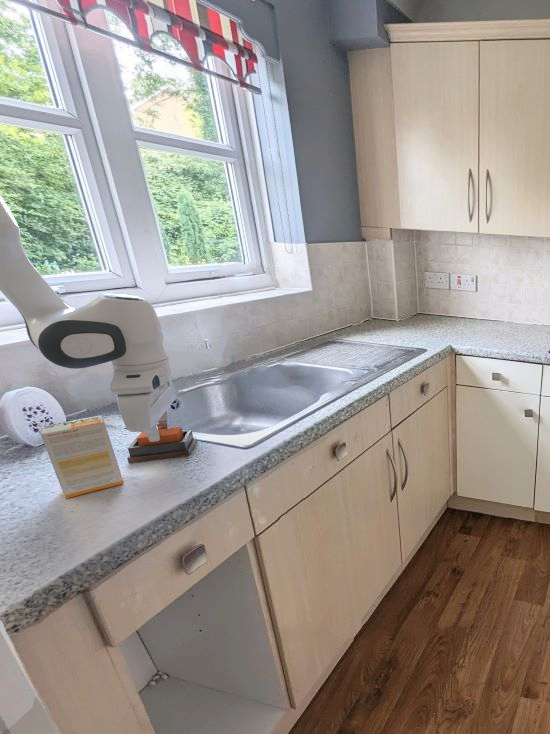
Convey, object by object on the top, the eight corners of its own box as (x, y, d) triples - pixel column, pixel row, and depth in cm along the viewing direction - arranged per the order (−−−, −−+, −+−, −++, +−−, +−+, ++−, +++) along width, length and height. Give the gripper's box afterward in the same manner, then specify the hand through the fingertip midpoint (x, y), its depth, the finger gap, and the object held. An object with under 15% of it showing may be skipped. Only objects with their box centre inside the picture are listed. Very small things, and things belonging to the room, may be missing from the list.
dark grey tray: (128, 463, 94) (124, 449, 93) (140, 448, 101) (136, 434, 99) (189, 455, 98) (186, 442, 97) (197, 441, 105) (194, 428, 104)
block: (140, 453, 96) (136, 438, 95) (146, 445, 99) (142, 430, 98) (180, 448, 99) (177, 433, 98) (185, 440, 102) (181, 426, 101)
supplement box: (121, 474, 90) (103, 413, 85) (124, 484, 87) (105, 421, 82) (63, 489, 84) (40, 424, 80) (63, 499, 81) (39, 433, 77)
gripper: (141, 361, 101) (156, 418, 106) (105, 390, 83) (125, 456, 88) (176, 359, 103) (188, 415, 108) (148, 387, 86) (164, 452, 91)
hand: (160, 434), depth 98 cm, fingers open, 5 cm apart
